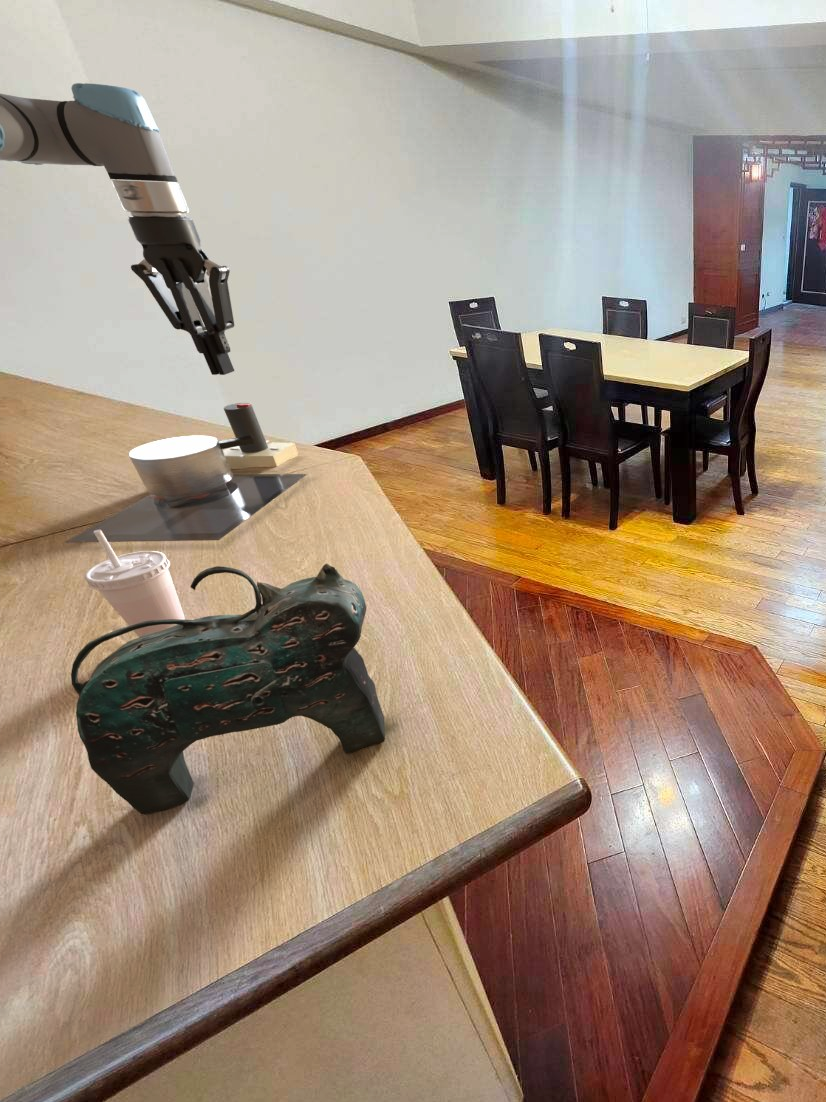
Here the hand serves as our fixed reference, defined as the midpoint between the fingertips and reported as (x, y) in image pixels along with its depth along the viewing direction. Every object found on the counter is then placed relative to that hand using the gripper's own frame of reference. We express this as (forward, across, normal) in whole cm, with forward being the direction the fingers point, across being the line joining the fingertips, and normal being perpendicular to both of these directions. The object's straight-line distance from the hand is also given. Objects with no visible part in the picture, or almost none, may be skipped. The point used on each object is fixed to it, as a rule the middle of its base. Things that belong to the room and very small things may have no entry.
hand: (223, 372), depth 101 cm
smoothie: (+17, +20, -53) cm, 59 cm away
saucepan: (+16, -1, -11) cm, 19 cm away
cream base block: (+17, 0, 0) cm, 17 cm away
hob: (+17, +2, -19) cm, 25 cm away
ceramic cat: (+17, +42, -72) cm, 85 cm away
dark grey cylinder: (+14, 0, 0) cm, 14 cm away
